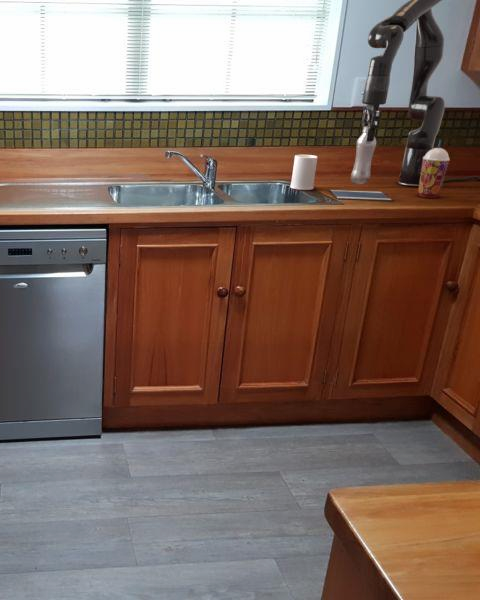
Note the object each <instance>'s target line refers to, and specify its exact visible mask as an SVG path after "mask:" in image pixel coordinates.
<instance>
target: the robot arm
mask: <svg viewBox="0 0 480 600" xmlns="http://www.w3.org/2000/svg"><path fill="white" fill-rule="evenodd" d="M442 1H443V0H408V1H406V2H405V3H403V4H402V5H400V6H399V7H398V8H397V9H396V10H395V11H394V12H393V13H392V15H390V16H388V17H386V18H384V19H383V20H381V21H379V22H378V23H377V24H375V25H374V26H373V27H372V28H371V29H370V31H369V32H368V36H367V43H368V45H369V46H370V48H372V49H384V50H383V52H382V54H380V55H376V56H372V57H371V58H370V61H369V64H368V70H367V75H366V79H365V82H364V89H363V93H362V100H361V103H362V104H363V105H366V106H365V107H363V111H362V117H361V122H360V123H361V127H362V128H363V127H364V126H368V133H367V139H366V140H367V141H373V140H374V137H375V136H376V131H377V129H379V127H380V122H381V117H382V114H383V111H382V110H380V105H381V106H383V105H386V104H387V99H388V93H389V87H390V84H391V83H390V81H391V72H392V67H393V64H394V60H395V58H396V56H397V54H398V51H399V49H400V47H401V45H402V43H403V40H404V36H405V35H404V34H405V32H406V31H407V30H409V28H411V26H412V25H413V24H415V36H414V37H415V39H414V50H413V70H412V71H413V72H412V73H413V74H412V82H411V89H410V94H409V95H410V96H409V100H408V101H409V102H408V116H409V118H410V119H411V120H413V121H417V122H422V124H421V126H420V127H419V128H417V129H414V130H411V131H409V132H408V135H407V140H406V144H405V150H404V154H403V158H402V159H403V160H402V163H401V169H400V173H399V178H398V182H397V183H398V185H401V186H405V187H412V188H419V182H420V175H421V169H422V162H423V157H424V156H425V155H426V153H427V152H428V151H430V150H431V149H434V145H435V140H436V138H437V135H438V133H439V131H440V127H441V125H442V120H443V117H444V113H445V108H446V102H445V99H444V98H443V97H442V96H438V95H428V85H429V82H430V79H431V78H432V76H433V74H434V73H435V71H436V70H437V69H438V67H439V65H440V64H441V62H442V60H443V57H444V49H445V37H444V33H443V31H442V29H441V27H440V26H439V24H438V23H437V21H436V19H435V17H434V13H433V10H432V9H433V8H434V7H435V6H437V5H438V4H439V3H441V2H442ZM361 131H362V132H361V135H362V134H363V130H361ZM472 179H475V180H477V181H479V182H480V177H479V176H477V175H472V176H471V175H470V176H468V177H459V178H458V177H457V178H455V177H454V178H447V179H444V180H443V183H447V182H458V181H460V182H461V181H468V180H472ZM443 183H442V184H443Z"/></svg>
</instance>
